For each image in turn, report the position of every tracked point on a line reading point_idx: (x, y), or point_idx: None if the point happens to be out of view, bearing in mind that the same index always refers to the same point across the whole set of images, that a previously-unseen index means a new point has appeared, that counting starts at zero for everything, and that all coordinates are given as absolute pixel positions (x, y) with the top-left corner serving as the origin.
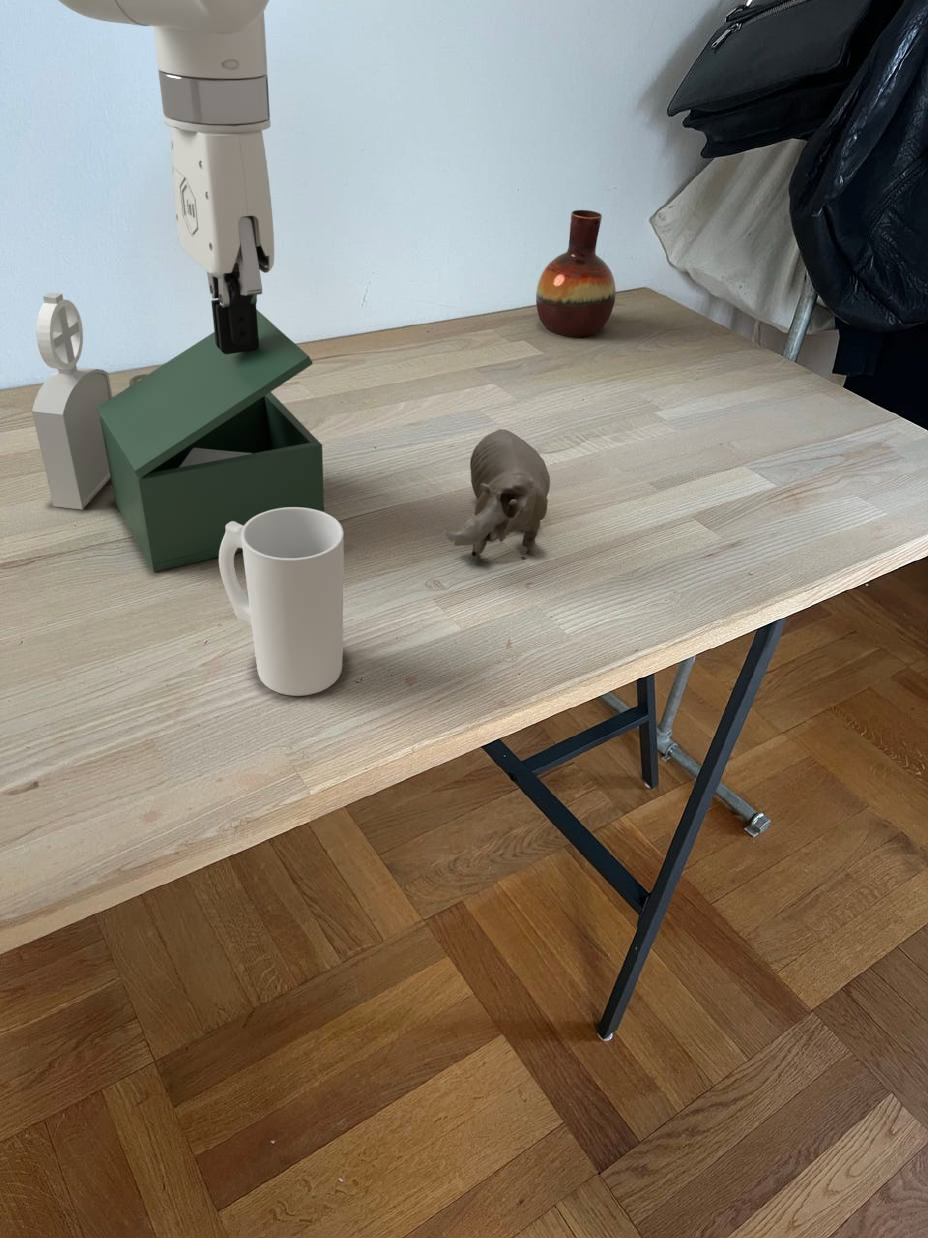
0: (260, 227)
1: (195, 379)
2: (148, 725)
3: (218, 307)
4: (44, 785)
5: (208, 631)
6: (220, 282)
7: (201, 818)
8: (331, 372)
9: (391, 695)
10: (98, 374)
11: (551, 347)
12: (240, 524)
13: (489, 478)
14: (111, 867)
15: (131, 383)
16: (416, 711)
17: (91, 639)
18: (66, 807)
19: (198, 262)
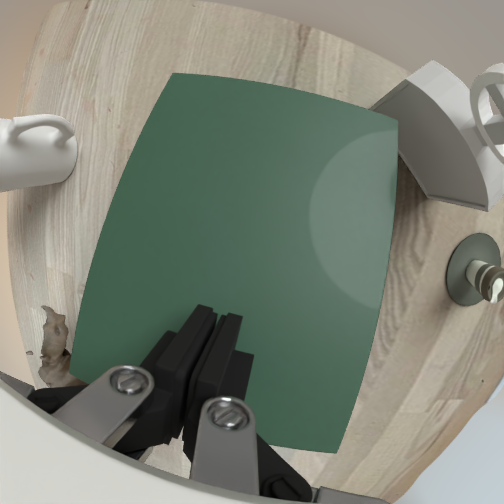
0: None
1: (259, 239)
2: (77, 58)
3: (155, 364)
4: (83, 11)
5: (118, 116)
6: (90, 415)
7: (29, 71)
8: (416, 436)
9: (26, 191)
10: (483, 189)
11: None
12: (12, 130)
13: (76, 381)
14: (37, 35)
15: (502, 270)
16: (16, 195)
17: (163, 42)
18: (67, 19)
19: (47, 429)
